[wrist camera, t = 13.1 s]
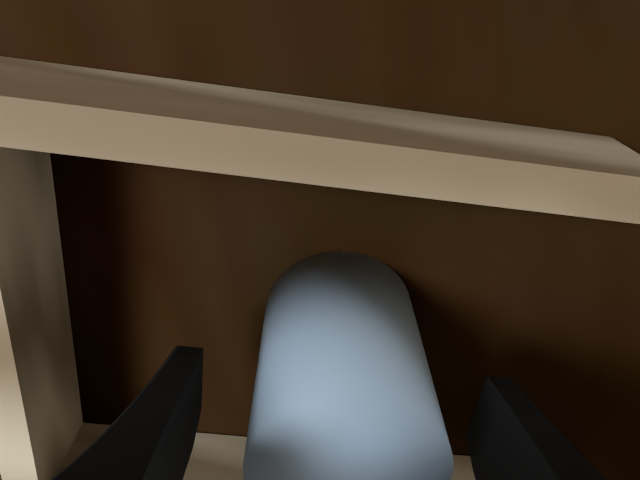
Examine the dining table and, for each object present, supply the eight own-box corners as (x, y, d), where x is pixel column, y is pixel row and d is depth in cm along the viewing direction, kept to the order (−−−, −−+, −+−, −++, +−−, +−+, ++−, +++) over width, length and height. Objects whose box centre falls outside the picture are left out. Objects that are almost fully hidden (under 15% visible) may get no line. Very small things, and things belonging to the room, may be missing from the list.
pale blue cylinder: (395, 375, 17) (426, 542, 12) (260, 362, 17) (237, 528, 12) (425, 260, 15) (479, 407, 10) (272, 242, 14) (249, 385, 10)
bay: (425, 586, 23) (439, 668, 20) (76, 562, 22) (43, 645, 19) (611, 137, 13) (685, 183, 10) (-6, 55, 12) (-97, 83, 9)
